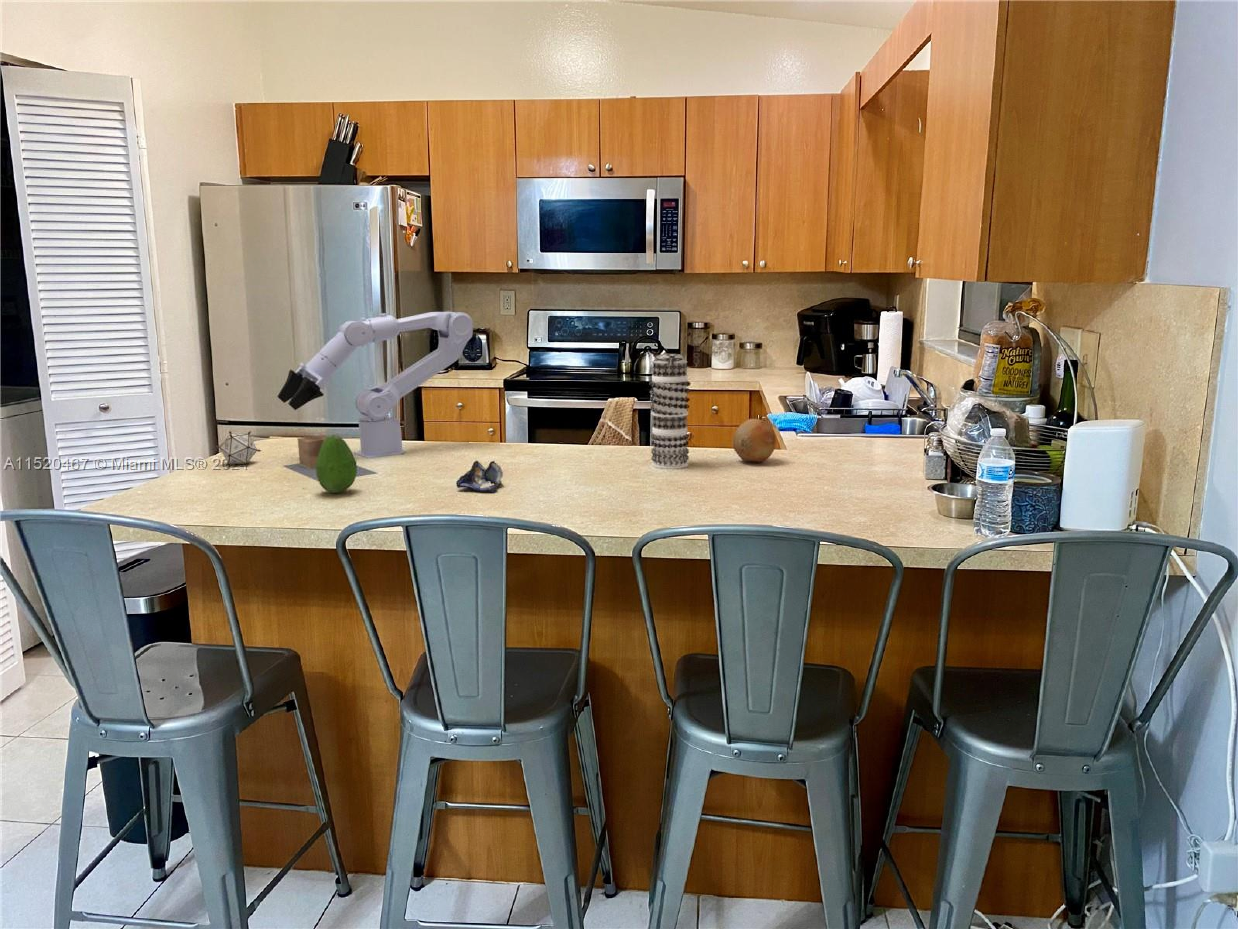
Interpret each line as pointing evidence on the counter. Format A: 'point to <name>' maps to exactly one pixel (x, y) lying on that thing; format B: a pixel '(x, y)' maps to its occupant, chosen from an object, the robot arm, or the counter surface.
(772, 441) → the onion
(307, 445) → the letter cube
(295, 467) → the mat
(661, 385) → the decorative candle
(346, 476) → the avocado
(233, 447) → the game die
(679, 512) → the counter surface
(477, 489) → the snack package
